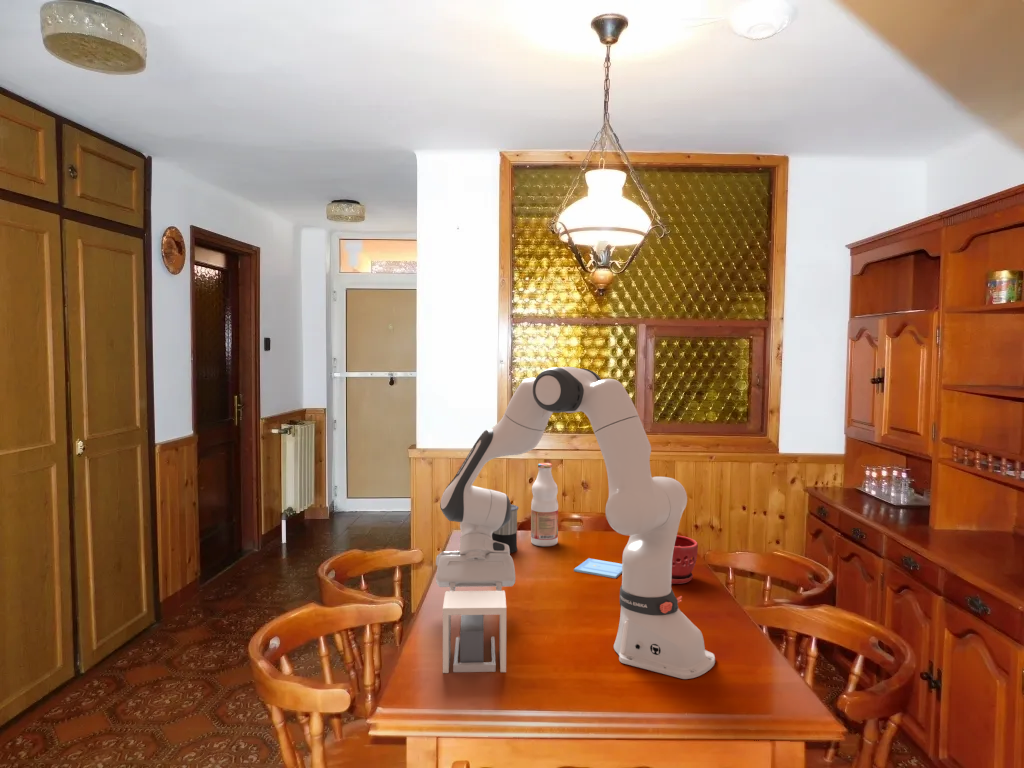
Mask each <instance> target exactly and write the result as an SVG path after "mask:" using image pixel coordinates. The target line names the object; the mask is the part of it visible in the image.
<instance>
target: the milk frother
mask: <svg viewBox="0 0 1024 768" xmlns="http://www.w3.org/2000/svg"><path fill="white" fill-rule="evenodd" d="M518 510H519V506H517V505H515V504H511V517H510V520H509V522H508V523H507V524H506V525H505V526H503V527H502V528H501V529H499V530H498V531H496V532H495V531H494V532H493V533H492V539H493V540H494V541H497V542H500V543H504V544H507V545H508V546H509V549H510V554H511V553H515V552H517V551H518V543H517V540H518V539H517V538H518V537H517V534H518V531H517V530H518Z"/></svg>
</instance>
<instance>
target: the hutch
mask: <svg viewBox="0 0 1024 768" xmlns="http://www.w3.org/2000/svg"><path fill="white" fill-rule="evenodd" d="M461 615H483V616H487V615H488V616H489V615H491V616H494V615H495V616H496V615H498V616H499V621H498V622H499V624H498V625H499V628H498V629H499V630H498V631H499V632H498V633H499V635H498V636H499V638H498V639H499V644H498V646H499V647H498V648H499V650H498V652H499V654H498V655H499V668H500V669H499V671H500V673H507V599H506V590H501V591H496V590H455V591H450V590H446V591H445V592H444V598H443V605H442V674H449V670H450V664H451V653H452V650H451V649H452V645H451V643H452V641H451V638H452V637H451V634H452V633H451V630H452V629H451V628H452V627H451V626H452V625H451V623H452V622H451V621H452V620H451V618H452V616H461ZM490 645H491V646H490V648H491V649H490V651H491V652H490V654H491V661H486V662H484V661H483V662H472V663H460V662H459V655H460V636H455V645H454V656H453V657H454V659H453V665H452V666H453V667H452V668H453V669H452V671H453V673H487V672H489V673H490V672H491V673H492V672H493V673H495V672H496V668H497V667H496V665H497V664H496V663H497V662H496V639H495V636H491V637H490Z"/></svg>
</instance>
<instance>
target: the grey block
mask: <svg viewBox="0 0 1024 768" xmlns="http://www.w3.org/2000/svg"><path fill="white" fill-rule="evenodd" d="M460 616H461V618H460V629H459V637H460V641H459V658H460V659H459V663H472V662H484V652H485V651H484V637H485V636H484V635H485V634H484V632H485V631H484V628H485V627H484V615H460Z"/></svg>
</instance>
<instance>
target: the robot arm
mask: <svg viewBox="0 0 1024 768" xmlns="http://www.w3.org/2000/svg"><path fill="white" fill-rule="evenodd" d="M578 412H581V413H584V415H585V416H586V417H587V418H588V420H589V422H590V426H591V428H592V431H593V433H594V436H595V438H596V441H597V444H598V447H599V449H600V453H601V456H602V458H603V461H604V464H605V469H606V473H607V482H608V484H607V485H608V498H607V500H606V504H605V510H604V511H605V518H606V520H607V522H608V524H609V526H610V527H611V528H612V529H613V530H614V531H615V532H616V533H618V534H619V535H623V536H629V538H628V541H627V544H626V545H625V547H624V549H623V551H622V559H621V560H622V561H621V562H622V563H621V564H622V573H621V574H622V575H621V585H620V588H619V605H620V615H619V616H620V617H619V622H618V623H619V624H618V628H617V633H616V637H615V641H614V644H613V649H614V651H615V652H616V654H617V655H618V660H619V662H620V663H622V664H625V665H629V666H632V667H636V668H640V669H643V670H648V671H651V672H655V673H658V674H663V675H666V676H670V677H674V678H678V679H682V680H688V679H694V678H697V677H700V676H702V675H704V674H705V673H707V672H708V671H710V670H711V669H712V668H713V667H714V666H715V663H716V657H715V653H713V652H711V651H708V650H707V649H705V648H706V647H705V640H704V636H703V633H702V631H701V630H700V629H699V628H698V627H697V626H696V624H694V623H693V622H692V621H691V620H690V619H689V618H688V617H687V616H686V615H685V614H684V612H682V611H681V609H680V608H679V603H680V602H682V601H683V600H682V599H683V596H682V595H680V596H678V597H676V596H675V592H674V591H673V588H672V584H671V580H672V557H673V550H674V545H675V541H676V536H677V535H678V531H679V528H680V527H679V526H680V522H681V518H682V516H683V513H684V511H685V509H686V507H687V503H688V494H687V491H686V489H685V487H684V485H682V483H681V482H680V481H679V480H676V479H675V478H673V477H667V476H652V471H651V461H650V458H651V453H652V446H651V443H650V440H649V438H648V436H647V433H646V431H645V430H646V429H645V428H644V425H643V423H642V420H641V418H640V415H639V413H638V410H637V408H636V407H635V404H634V402H633V400H632V398H631V397H630V394H628V391H627V390H626V388H625V387H624V385H623V384H622V383H621V382H620V381H619V380H617V379H614V378H602V379H601V377H600V376H599V375H598V374H597V373H596V372H594V371H593V370H590V369H588V368H578V367H575V366H562V367H561V366H560V367H558V366H557V367H556V366H554V367H550V368H547V369H545V370H543V371H541V372H540V373H539V374H537V376H536V377H528V378H525V379H523V380H522V381H521V382H520V383H519V385H518V387H516V389H515V391H514V393H513V395H512V396H511V398H510V400H509V402H508V404H507V406H506V409H505V411H504V414H503V416H502V418H501V419H500V420H499V421H498V422H497V423H496V424H495V425H494V426H493V427H491V428H490V429H485V430H484V431H483V432H482V433H481V434H480V436H479V437H478V439H477V440H476V441H475V443H474V445H473V446H472V448H471V450H470V451H469V453H468V454H467V456H466V458H465V459H464V461H463V463H462V464H461V466H460V467H459V469H458V470H457V473H456V474H455V475H454V478H452V480H451V481H450V482H449V484H448V485H447V486H446V488H445V489H444V491H443V493H442V495H441V498H440V503H439V504H440V505H439V506H440V510H441V512H442V513H443V516H444V517H445V518H446V519H447V520H448V521H449V522H455V523H457V522H458V523H459V529H460V532H461V534H460V536H459V537H460V538H459V547H458V548H459V550H457V551H456V550H454V551H444V550H443V551H441V552H440V553H438V554H437V555H436V558H435V565H436V567H437V569H436V575H435V583H436V584H437V586H438V587H439V588H449V591H456V588H469V587H470V588H471V587H472V588H473V587H474V588H475V587H476V588H478V587H479V588H480V587H481V588H482V587H484V588H486V587H487V588H488V587H491V588H492V587H495V591H503V590H502V588H503V587H513V586H514V584H515V583H516V570H515V563H514V560H513V557H512V556H511V555H510V554H511V553H510V549H509V546H508V545H507V544H504V543H500V542H497V541H494V540H493V539H492V533H493V532H494V531H495V532H496V531H498V530H499V529H501V528H502V527H503V526H505V525H506V524H507V523H508V522H509V520H510V517H511V505H512V504H511V500H510V498H509V496H508V495H507V493H504V492H501V491H498V490H494V489H490V488H485V487H480V486H476V485H473V484H474V482H475V481H476V479H477V478H478V476H479V475H480V473H481V471H482V470H483V468H484V466H485V465H486V464H487V463H488V462H489V461H492V460H493V459H496V458H501V457H507V456H508V457H509V456H518V455H522V454H525V453H528V452H530V451H533V450H534V449H535V448H537V446H538V444H539V443H540V441H541V440H542V437H543V435H544V433H545V431H546V427H547V425H548V423H549V420H550V419H551V416H552V415H553V413H557V414H558V413H559V414H560V413H567V414H573V413H578Z"/></svg>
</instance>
